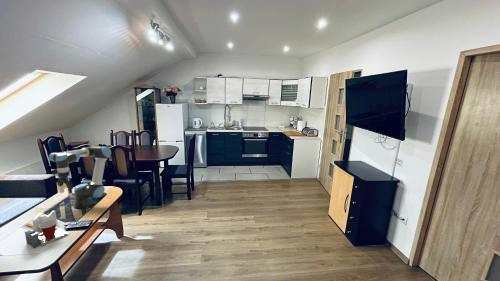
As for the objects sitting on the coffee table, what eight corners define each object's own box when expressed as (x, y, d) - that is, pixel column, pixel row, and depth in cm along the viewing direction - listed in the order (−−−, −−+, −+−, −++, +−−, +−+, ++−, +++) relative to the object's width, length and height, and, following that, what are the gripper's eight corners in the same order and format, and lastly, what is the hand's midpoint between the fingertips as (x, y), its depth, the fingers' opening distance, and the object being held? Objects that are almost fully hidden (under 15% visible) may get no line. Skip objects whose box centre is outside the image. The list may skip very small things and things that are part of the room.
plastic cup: (40, 242, 164) (38, 228, 162) (41, 235, 172) (39, 222, 170) (58, 237, 171) (56, 223, 169) (59, 230, 179) (57, 217, 177)
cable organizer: (49, 230, 180) (47, 217, 178) (33, 232, 176) (31, 220, 174) (57, 220, 194) (55, 209, 192) (42, 222, 190) (40, 211, 188)
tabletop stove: (58, 228, 183) (56, 215, 181) (68, 234, 176) (67, 221, 174) (23, 242, 164) (21, 228, 161) (34, 250, 157) (32, 235, 155)
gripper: (50, 170, 183) (53, 192, 187) (66, 175, 173) (69, 199, 177) (61, 168, 190) (63, 189, 194) (76, 173, 180) (79, 195, 184)
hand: (66, 194), depth 185 cm, fingers open, 13 cm apart
